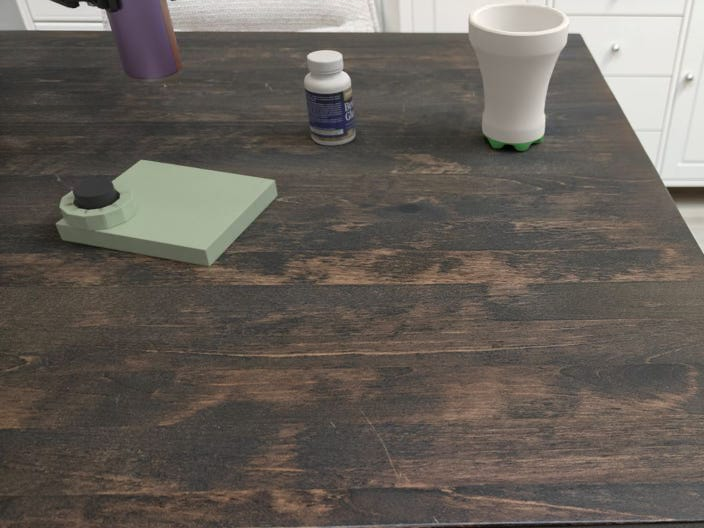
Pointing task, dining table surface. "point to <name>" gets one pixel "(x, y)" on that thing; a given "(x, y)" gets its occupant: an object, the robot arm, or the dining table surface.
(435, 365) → the dining table surface
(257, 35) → the dining table surface
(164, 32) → the purple tall cylinder
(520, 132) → the cup
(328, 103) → the pill bottle
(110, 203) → the button
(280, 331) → the dining table surface
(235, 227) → the scale
